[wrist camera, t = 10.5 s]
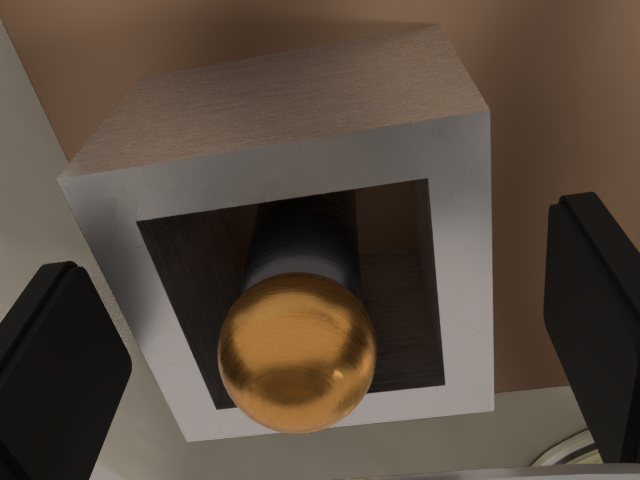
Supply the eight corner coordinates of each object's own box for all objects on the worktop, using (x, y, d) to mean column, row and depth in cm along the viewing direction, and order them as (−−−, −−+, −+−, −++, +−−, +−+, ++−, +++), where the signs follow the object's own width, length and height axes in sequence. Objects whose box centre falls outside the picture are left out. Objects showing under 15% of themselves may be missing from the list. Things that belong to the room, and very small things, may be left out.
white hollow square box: (439, 23, 13) (490, 109, 9) (454, 270, 17) (494, 411, 13) (139, 77, 14) (56, 179, 9) (221, 300, 17) (186, 442, 13)
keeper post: (354, 127, 14) (370, 341, 8) (368, 221, 16) (391, 460, 10) (244, 144, 14) (180, 362, 8) (268, 235, 16) (230, 475, 10)
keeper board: (1300, -505, 9) (1448, -558, 8) (886, 316, 19) (923, 348, 18) (-51, -182, 12) (-95, -185, 11) (200, 391, 22) (192, 424, 21)
